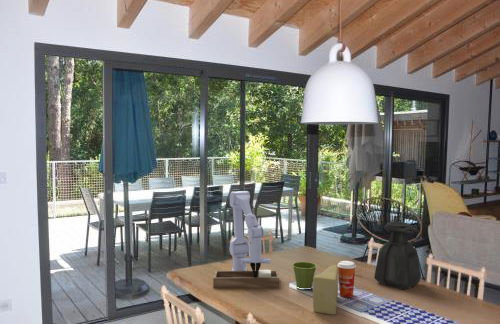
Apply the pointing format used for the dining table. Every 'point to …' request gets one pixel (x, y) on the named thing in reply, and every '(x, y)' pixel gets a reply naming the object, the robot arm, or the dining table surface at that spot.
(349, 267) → the coffee cup
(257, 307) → the dining table surface
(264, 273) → the cream block
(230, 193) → the robot arm
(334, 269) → the cheese
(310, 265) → the plant pot
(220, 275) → the trap box
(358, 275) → the dining table surface
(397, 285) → the black faceted vase
